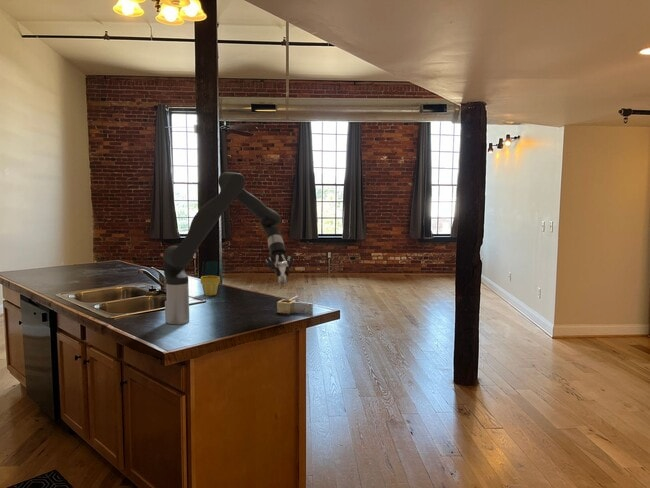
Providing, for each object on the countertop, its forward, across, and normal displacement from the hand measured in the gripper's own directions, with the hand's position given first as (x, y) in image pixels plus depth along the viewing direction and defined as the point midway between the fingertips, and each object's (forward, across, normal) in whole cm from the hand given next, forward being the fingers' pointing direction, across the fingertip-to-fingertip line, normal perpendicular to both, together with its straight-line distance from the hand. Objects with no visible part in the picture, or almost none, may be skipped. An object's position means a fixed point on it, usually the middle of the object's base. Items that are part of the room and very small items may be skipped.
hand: (283, 275), depth 225 cm
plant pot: (-26, -28, +52) cm, 64 cm away
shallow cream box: (+10, +9, +16) cm, 21 cm away
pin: (+1, 0, +4) cm, 4 cm away
